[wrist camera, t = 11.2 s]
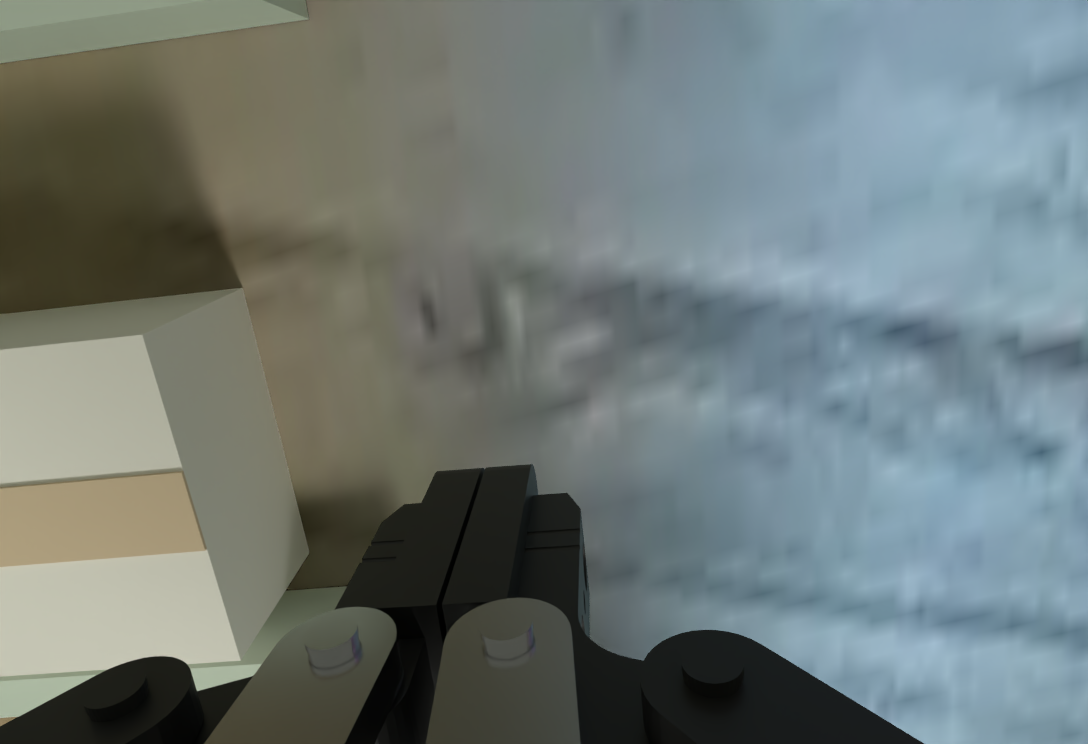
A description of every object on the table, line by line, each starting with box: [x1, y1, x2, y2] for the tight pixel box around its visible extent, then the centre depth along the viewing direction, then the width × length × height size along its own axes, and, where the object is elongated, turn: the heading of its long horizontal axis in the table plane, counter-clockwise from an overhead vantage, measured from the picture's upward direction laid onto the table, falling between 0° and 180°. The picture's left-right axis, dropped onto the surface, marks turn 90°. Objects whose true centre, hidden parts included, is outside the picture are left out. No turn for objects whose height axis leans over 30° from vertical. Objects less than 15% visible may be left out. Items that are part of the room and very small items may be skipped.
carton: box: [0, 288, 309, 677], centre depth 23 cm, size 12×10×6 cm
